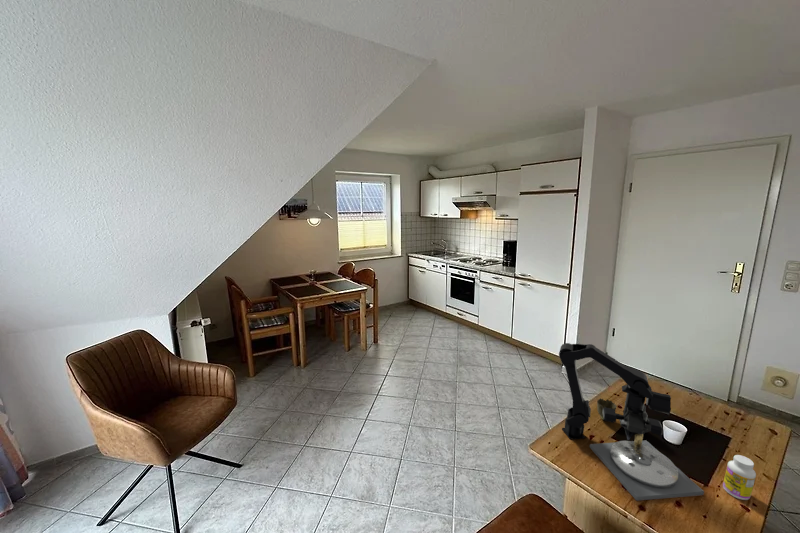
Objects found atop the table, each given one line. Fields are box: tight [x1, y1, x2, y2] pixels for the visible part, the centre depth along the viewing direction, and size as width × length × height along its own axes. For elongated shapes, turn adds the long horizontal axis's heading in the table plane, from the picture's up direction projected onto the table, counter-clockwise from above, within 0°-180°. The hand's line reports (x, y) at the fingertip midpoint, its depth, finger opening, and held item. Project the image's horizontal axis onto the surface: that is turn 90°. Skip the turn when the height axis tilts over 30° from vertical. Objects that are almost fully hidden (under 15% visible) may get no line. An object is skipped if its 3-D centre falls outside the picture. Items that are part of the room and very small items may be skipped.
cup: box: [596, 398, 618, 421], centre depth 149 cm, size 8×7×8 cm
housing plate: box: [589, 439, 705, 502], centre depth 122 cm, size 24×24×2 cm
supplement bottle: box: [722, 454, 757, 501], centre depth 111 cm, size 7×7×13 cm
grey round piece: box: [610, 433, 678, 488], centre depth 121 cm, size 20×20×7 cm
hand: (627, 439), depth 130 cm, fingers closed
